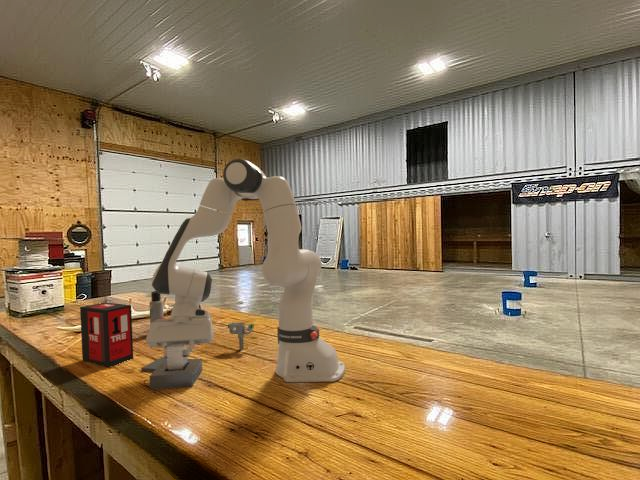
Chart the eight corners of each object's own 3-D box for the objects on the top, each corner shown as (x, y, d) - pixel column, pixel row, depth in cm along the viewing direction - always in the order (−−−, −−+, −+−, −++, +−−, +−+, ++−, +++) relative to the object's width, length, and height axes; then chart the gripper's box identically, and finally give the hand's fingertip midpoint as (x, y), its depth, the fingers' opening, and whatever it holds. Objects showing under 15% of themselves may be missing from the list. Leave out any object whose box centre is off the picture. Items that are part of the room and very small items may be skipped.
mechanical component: (252, 350, 129) (251, 324, 128) (227, 349, 131) (226, 324, 131) (255, 348, 132) (254, 322, 131) (231, 347, 134) (230, 322, 133)
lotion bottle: (166, 331, 159) (164, 289, 159) (159, 335, 154) (158, 292, 153) (155, 332, 160) (153, 290, 159) (148, 335, 154) (146, 292, 154)
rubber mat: (186, 361, 120) (186, 358, 120) (167, 372, 110) (167, 369, 110) (162, 359, 122) (162, 357, 122) (141, 370, 113) (141, 367, 113)
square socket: (202, 370, 111) (201, 358, 111) (192, 386, 99) (191, 373, 99) (164, 373, 110) (163, 361, 110) (150, 389, 98) (149, 376, 98)
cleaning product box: (133, 358, 124) (131, 305, 124) (108, 367, 117) (106, 310, 116) (107, 352, 132) (104, 302, 132) (82, 360, 124) (80, 306, 124)
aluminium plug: (187, 373, 107) (186, 341, 107) (183, 379, 103) (181, 346, 102) (172, 374, 107) (171, 343, 106) (168, 380, 102) (166, 347, 102)
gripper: (149, 314, 110) (137, 354, 100) (213, 310, 112) (208, 349, 103) (155, 324, 115) (144, 364, 105) (216, 320, 117) (211, 358, 107)
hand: (176, 356), depth 104 cm, fingers closed on aluminium plug, 4 cm apart
